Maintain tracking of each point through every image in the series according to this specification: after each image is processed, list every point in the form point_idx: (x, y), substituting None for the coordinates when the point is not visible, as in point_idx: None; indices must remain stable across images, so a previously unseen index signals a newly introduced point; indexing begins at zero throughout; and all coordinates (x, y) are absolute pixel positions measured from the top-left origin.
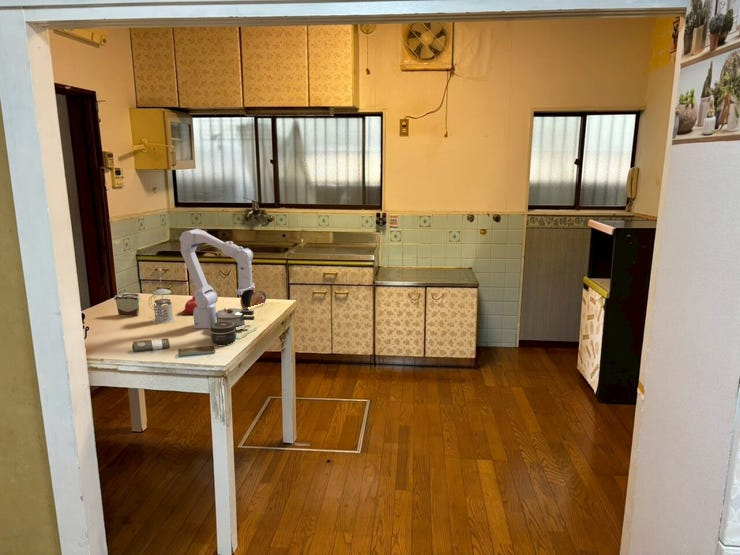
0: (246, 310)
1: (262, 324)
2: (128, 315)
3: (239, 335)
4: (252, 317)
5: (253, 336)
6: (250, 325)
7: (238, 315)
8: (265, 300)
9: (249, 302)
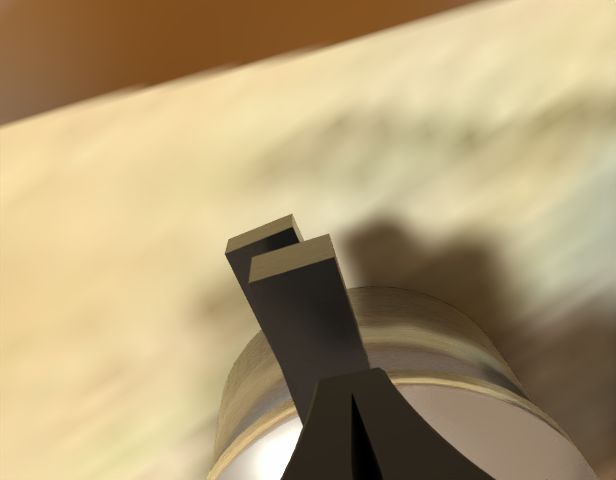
0: (302, 397)
1: (101, 178)
2: None
3: (568, 192)
4: (297, 240)
5: (561, 4)
6: (204, 289)
7: (488, 395)
8: None
9: (375, 414)
